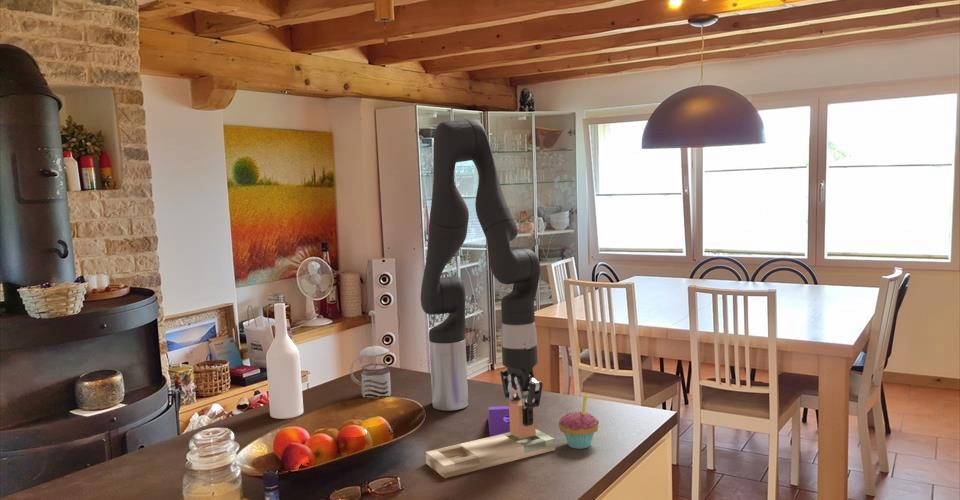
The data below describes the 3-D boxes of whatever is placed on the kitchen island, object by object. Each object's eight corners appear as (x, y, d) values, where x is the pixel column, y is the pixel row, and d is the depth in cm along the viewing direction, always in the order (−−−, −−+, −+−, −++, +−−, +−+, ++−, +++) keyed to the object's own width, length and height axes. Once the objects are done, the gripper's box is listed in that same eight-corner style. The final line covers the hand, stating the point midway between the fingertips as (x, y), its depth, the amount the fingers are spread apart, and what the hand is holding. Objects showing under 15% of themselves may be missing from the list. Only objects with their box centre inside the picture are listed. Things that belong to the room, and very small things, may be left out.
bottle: (270, 418, 178) (262, 302, 175) (303, 414, 180) (295, 300, 177) (270, 428, 170) (262, 307, 167) (304, 424, 172) (296, 304, 170)
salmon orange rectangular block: (510, 433, 150) (508, 401, 149) (525, 429, 152) (524, 398, 151) (519, 438, 146) (518, 406, 146) (535, 435, 148) (534, 402, 148)
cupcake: (602, 439, 153) (600, 386, 152) (595, 454, 145) (593, 397, 144) (563, 436, 155) (561, 384, 154) (555, 450, 147) (553, 395, 146)
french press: (392, 406, 184) (387, 313, 182) (349, 408, 184) (343, 314, 182) (397, 395, 194) (392, 306, 192) (356, 397, 194) (350, 308, 192)
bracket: (520, 437, 157) (519, 408, 156) (490, 439, 157) (488, 409, 156) (516, 420, 169) (515, 393, 168) (488, 422, 169) (486, 394, 168)
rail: (426, 463, 143) (425, 451, 143) (532, 437, 156) (531, 426, 155) (444, 478, 135) (444, 465, 135) (555, 449, 148) (554, 438, 147)
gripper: (487, 340, 152) (491, 417, 153) (521, 351, 139) (525, 435, 141) (517, 335, 155) (520, 410, 157) (552, 346, 143) (555, 427, 144)
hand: (522, 421), depth 149 cm, fingers closed on salmon orange rectangular block, 4 cm apart
